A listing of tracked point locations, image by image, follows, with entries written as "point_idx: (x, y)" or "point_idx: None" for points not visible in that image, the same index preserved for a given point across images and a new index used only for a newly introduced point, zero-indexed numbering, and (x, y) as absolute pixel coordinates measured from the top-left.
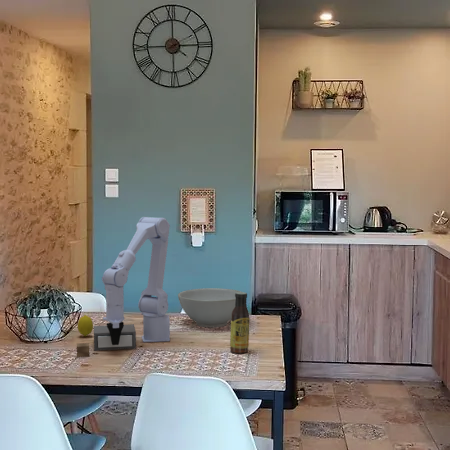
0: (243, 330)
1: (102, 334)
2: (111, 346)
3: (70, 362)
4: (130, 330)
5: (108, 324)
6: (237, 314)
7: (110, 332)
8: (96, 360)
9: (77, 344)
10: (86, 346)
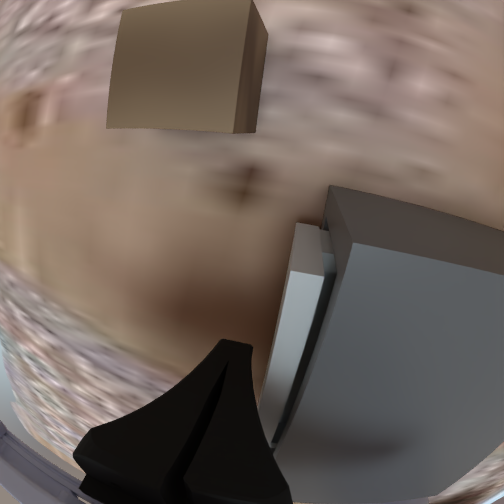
0: None
1: (317, 343)
2: (275, 328)
3: (80, 21)
4: (299, 493)
5: (133, 486)
6: None
7: (145, 410)
8: (75, 171)
9: (202, 4)
10: (110, 100)
